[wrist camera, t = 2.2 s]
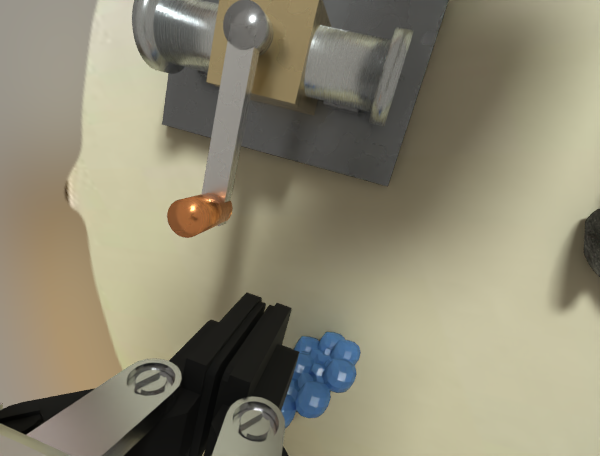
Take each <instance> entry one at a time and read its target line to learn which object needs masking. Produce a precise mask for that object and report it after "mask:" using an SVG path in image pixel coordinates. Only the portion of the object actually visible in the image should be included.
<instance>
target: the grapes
mask: <svg viewBox="0 0 600 456" xmlns="http://www.w3.org/2000/svg"><path fill="white" fill-rule="evenodd" d="M294 350H296V351H299V352H300V353H299V357H298V360H297V363H296V367H295V370H294V374H293V377H292V380H291V383H290V386H289V389H288V392H287V395H286V398H285V401H284V404H283V407H282V409H281V412H282V414H283V417H284V419H285V428H287V427H288V426H289V424H290V423H291V421H292V420H293V418H294V416H295V413H296V412H298V413H299V414H300V415H301V416H304V417H307V418H316V417H319V416H320V415H322V414H323V413H324V411H325V410H326V408H327V407H328V404H329V401H330V398H331V396H330V391H333V392H336V393H341V392H346V391H347V390H348V389H349V388H350V387H351V385H352V384H353V382H354V380H355V377H356V369H355V364H356V363H357V361H358V360H359V357H360V353H361V352H360V348H359V346H358V345H357V344H356V343H355V342H352V341H349V340H345V338H344V337H343V336H342V335H341V334H338V333H335V332H326V333H325V334H324V335H323V337H322V338H321V340H320V342H319V341H318V340H317V339H316V338H313V337H307V336H302V337H301V338H300V339H299V341H298V342H297V344H296V346H295V348H294Z"/></svg>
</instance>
